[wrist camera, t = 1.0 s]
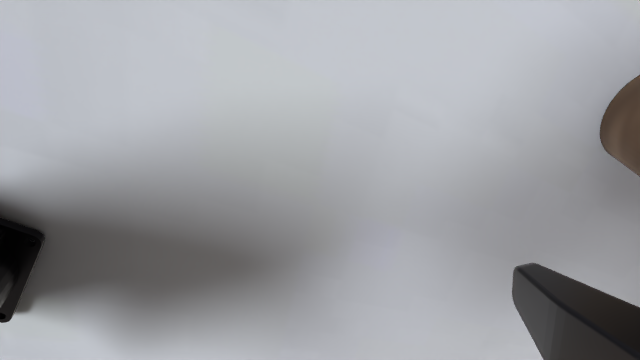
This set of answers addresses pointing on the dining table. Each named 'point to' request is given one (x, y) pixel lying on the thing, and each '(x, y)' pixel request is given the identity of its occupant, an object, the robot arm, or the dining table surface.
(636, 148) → the pepper mill
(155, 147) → the dining table surface
